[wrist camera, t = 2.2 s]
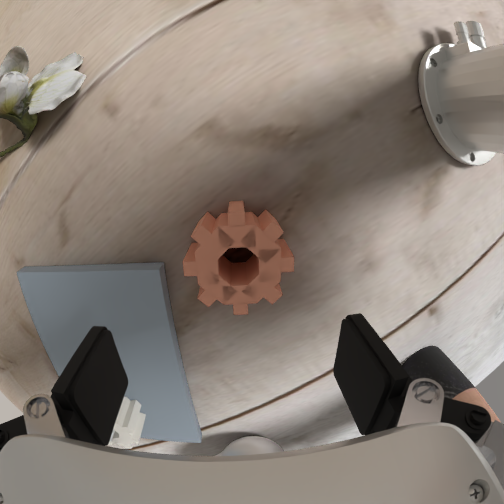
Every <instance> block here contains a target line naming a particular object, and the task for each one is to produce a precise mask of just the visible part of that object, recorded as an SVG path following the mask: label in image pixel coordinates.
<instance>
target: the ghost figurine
mask: <svg viewBox="0 0 504 504" xmlns="http://www.w3.org/2000/svg"><path fill="white" fill-rule="evenodd" d="M275 452H284V450H283V449H282V448H281V447H280V446H279V445H278V444H277V443H275V442H274V441H272V440H270V439H268V438H264V437H260V436H247V437H243V438H239V439H237V440H235V441H233V442H232V443H230V444H229V445H228V446H227V447H226V448H225V449H224V450H223V451H222V452H221V453H219V454H217V455H215V456H237V455H254V454H265V453H275Z"/></svg>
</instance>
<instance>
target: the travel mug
mask: <svg viewBox="0 0 504 504" xmlns="http://www.w3.org/2000/svg"><path fill="white" fill-rule="evenodd" d="M402 367H403V368H404V369H405V371H406V372H407V373H408V375H409V376H410V378H411V379H412V380H413V381H414V380H417V379H420V378H428V379H431V380H434V381H436V382H437V383H439V384H440V385H441V387H442V388H443V391H444V397H446V398H450V399H454V400H458V401H462V402H466V403H470V404H474V405H478V406H481V407H483V408H485V409H486V410H487V411H488V412H489V414H490V416H491V422H494V421H495V420H497V421H499V422H500V420H499V419H498V418H497V416H496V414H495V413H494V412H493V410H492V409H491V408H490V406H489V405H488V404H487V402H486V401H485V400H484V398H483V397H482V396H481V395H480V393H479V392H478V390H477V389H476V388H475V387H474V386H473V384H472V383H471V382H470V381H469V380H468V379H467V378H466V377H465V375H464V374H463V373H462V372H461V371H460V370H459V369H458V368H457V367H456V366H455V364H454V363H453V362H452V361H451V360H450V359H449V358H448V357H447V356H446V355H445V354H444V353H443V352H442V351H441V350H440V349H439V348H438V347H436V346H428V347H425V348H423V349H421V350H419V351H418V352H416V353H415V354H413V355H412V356H411V357H410V358H409V359H408V360H407V361H406V362H405V363H404V364H403V366H402Z"/></svg>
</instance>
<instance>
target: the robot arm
mask: <svg viewBox="0 0 504 504" xmlns="http://www.w3.org/2000/svg"><path fill="white" fill-rule="evenodd" d="M454 26H455V30H456V34H457V35H458V39H459V41H458V42H457V45H454V44H450V43H442V44H438V45H436V46H434V47H432V48H430V49H429V50H428V51H427V52H426V53H425V54H424V56H423V58H422V60H421V63H420V67H419V77H418V83H419V93H420V98H421V102H422V107H423V109H424V112H425V115H426V118H427V121H428V123H429V125H430V127H431V129H432V132H433V133H434V135H435V136H436V138H437V140H438V142H439V143H440V144H441V145H442V147H443V148H444V149H445V151H446V152H447V153H449V154H450V155H451V156H452V157H453V158H454V159H456V160H457V161H459V162H461V163H464V164H467V165H473V166H479V165H484V164H486V163H487V162H489V161H490V160H491V159H492V158H493V157H494V155H495V154H496V153H503V154H504V44H500V45H496V46H491V47H487V46H486V42H485V37H484V33H483V30H482V26H481V24H479V23H478V22H475V21H468V22H466V24H465V23H463V22H455V23H454ZM469 38H470V39H469ZM470 40H471V42H470ZM334 376H335V378H336V381H337V383H338V385H339V387H340V389H341V391H342V394H343V396H344V398H345V400H346V402H347V405H348V407H349V409H350V411H351V414H352V416H353V418H354V420H355V423H356V425H357V427H358V429H359V432H360V433H361V435H365V436H361V437H357V438H353V439H349V440H345V441H340V442H336V443H331V444H326V445H321V446H316V447H310V448H304V449H298V450H291V451H284V452H275V453H265V454H254V455H237V456H186V455H169V454H157V453H147V452H139V451H132V450H125V449H119V448H113V447H108V446H105V445H108V444H109V441H110V438H111V435H112V431H113V428H114V425H115V422H116V419H117V416H118V413H119V410H120V407H121V404H122V401H123V398H124V395H125V392H126V390H127V387H128V377H127V375H126V372H125V370H124V367H123V364H122V362H121V359H120V356H119V353H118V350H117V348H116V345H115V342H114V339H113V336H112V333H111V331H110V330H108V329H107V328H106V327H105V326H93V327H92V328H91V329H90V330H89V332H88V333H87V335H86V336H85V338H84V339H83V341H82V342H81V344H80V345H79V347H78V348H77V350H76V351H75V353H74V354H73V356H72V358H71V359H70V361H69V362H68V364H67V365H66V367H65V369H64V370H63V372H62V373H61V375H60V377H59V378H58V380H57V382H56V383H55V385H54V387H53V388H52V390H51V392H52V393H53V394H52V395H51V397H49V396H48V395H45V394H38V395H34V396H32V397H31V398H29V399H28V400H27V401H26V403H25V404H24V407H23V414H24V415H22V416H20V417H18V418H15V419H13V420H10V421H8V422H5V423H3V424H0V504H504V424H503V423H501V422H499V421H497V420H495V421H494V422H491V416H490V414H489V412H488V411H487V410H486V409H485V408H483V407H481V406H478V405H474V404H470V403H466V402H462V401H458V400H454V399H450V398H446V397H444V391H443V388H442V387H441V385H440V384H439V383H437V382H436V381H434V380H431V379H428V378H420V379H417V380H414V381H413V380H412V379H411V378H410V376H409V375H408V373H407V372H406V371H405V369H404V368H403V367H402V365H401V364H400V363H399V361H398V360H397V359H396V357H395V356H394V355H393V353H392V352H391V351H390V349H389V348H388V347H387V345H386V344H385V343H384V342H383V341H382V339H381V338H380V337H379V336H378V334H377V333H376V332H375V330H374V329H373V328H372V327H371V325H370V324H369V323H368V321H367V320H366V319H365V318H364V316H363V315H362V314H353V315H347V317H346V319H343V320H342V324H341V330H340V336H339V342H338V348H337V353H336V358H335V364H334Z"/></svg>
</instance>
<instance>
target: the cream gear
mask: <svg viewBox="0 0 504 504" xmlns="http://www.w3.org/2000/svg"><path fill="white" fill-rule="evenodd" d="M140 409H141V404H140V403H139V402H138V401H137V400H131V401H130V400H129V399H128V397H125V396H124V398H123V401H122V404H121V407H120V410H119V413H118V416H117V419H116V422H115V425H114V428H113V429H114V430H115V432H114V435H113V438H112V441H109V444H108V445H111V446H112V445H113V444H115V445H121V446H123V447H124V448H125V449H131V448H132V446H133V443H135V444H138V445H139V441H140V437H141V433H142V429H143V425H144V421H145V417H146V414H143V413H140Z"/></svg>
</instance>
